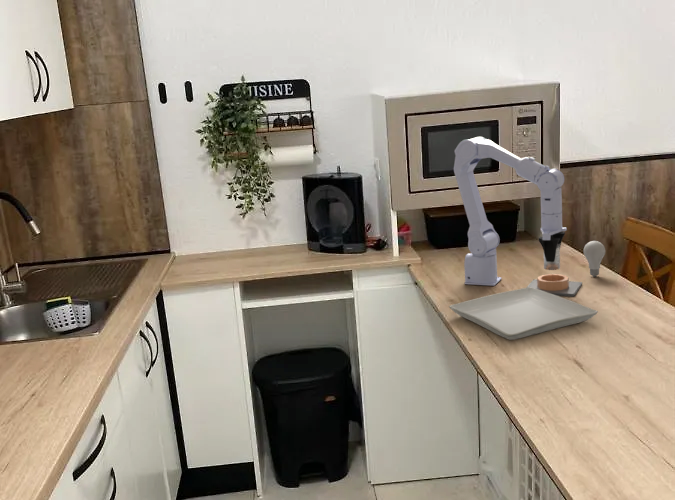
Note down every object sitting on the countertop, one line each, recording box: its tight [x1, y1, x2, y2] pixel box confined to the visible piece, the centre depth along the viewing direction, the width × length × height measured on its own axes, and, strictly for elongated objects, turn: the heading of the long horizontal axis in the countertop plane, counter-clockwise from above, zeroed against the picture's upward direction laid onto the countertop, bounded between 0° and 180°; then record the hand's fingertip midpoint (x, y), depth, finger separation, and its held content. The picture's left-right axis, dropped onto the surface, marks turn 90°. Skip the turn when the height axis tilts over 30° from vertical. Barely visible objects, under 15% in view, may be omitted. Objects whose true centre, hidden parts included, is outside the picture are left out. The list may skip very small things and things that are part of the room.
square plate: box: [448, 286, 599, 341], centre depth 186 cm, size 27×27×4 cm
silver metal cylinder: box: [543, 243, 561, 271], centre depth 207 cm, size 5×5×7 cm
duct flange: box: [525, 273, 583, 298], centre depth 209 cm, size 14×12×3 cm
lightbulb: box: [583, 240, 606, 278], centre depth 217 cm, size 6×6×11 cm
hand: (552, 259), depth 207 cm, fingers closed on silver metal cylinder, 4 cm apart
